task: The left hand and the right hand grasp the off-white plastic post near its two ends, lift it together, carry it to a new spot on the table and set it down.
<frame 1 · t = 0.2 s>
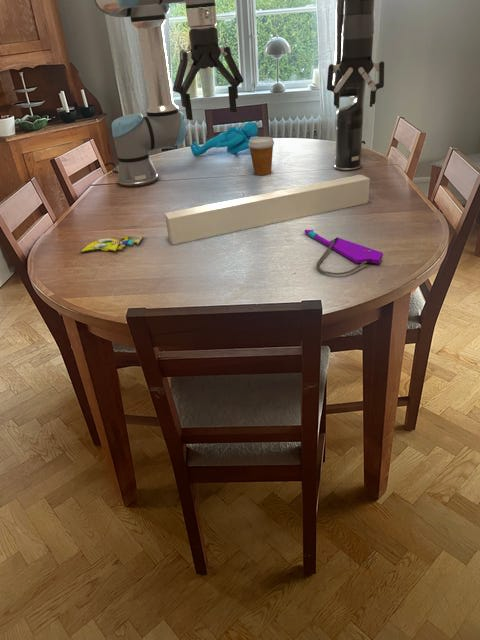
left hand: (211, 115, 135), 28 cm above the table, tool pointing down, fingers open, 13 cm apart
right hand: (354, 107, 126), 28 cm above the table, tool pointing down, fingers open, 8 cm apart
post: (272, 219, 140), on the table
toy: (225, 154, 209), on the table
disposable coffee cup: (262, 173, 180), on the table
toy 2: (113, 245, 134), on the table
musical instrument: (331, 256, 117), on the table
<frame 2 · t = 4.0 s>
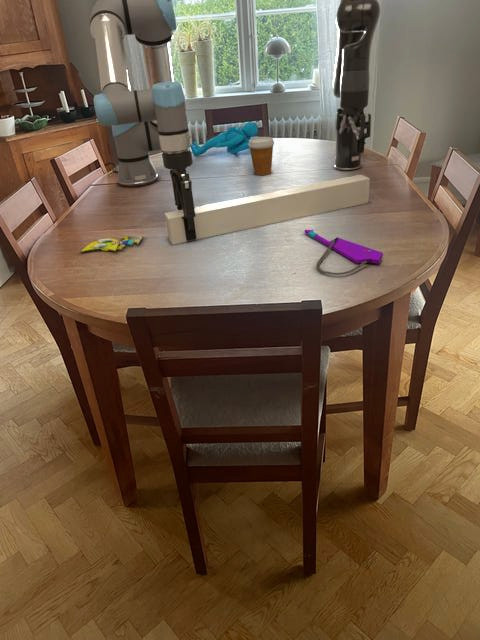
left hand: (188, 235, 134), 1 cm above the table, tool pointing down, fingers closed on post, 5 cm apart
right hand: (351, 149, 138), 16 cm above the table, tool pointing down, fingers open, 8 cm apart
post: (272, 219, 140), on the table, touching left hand
everything else where it was.
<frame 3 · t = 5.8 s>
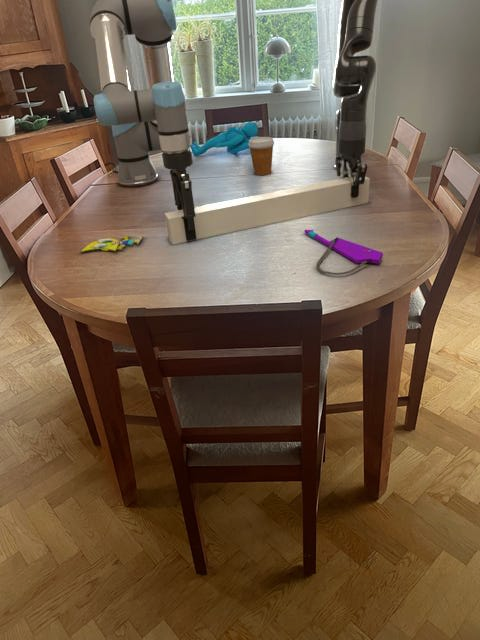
left hand: (188, 235, 134), 1 cm above the table, tool pointing down, fingers closed on post, 5 cm apart
right hand: (349, 194, 145), 3 cm above the table, tool pointing down, fingers closed on post, 5 cm apart
post: (272, 219, 140), on the table, touching left hand, right hand
everything else where it was.
when the left hand's fingers open (2 cm above the table, at t = 12.5 s): post drops 1 cm, on the table.
when the right hand's fingers open (4 cm above the table, at t = 12.7 s): post stays where it is, on the table.
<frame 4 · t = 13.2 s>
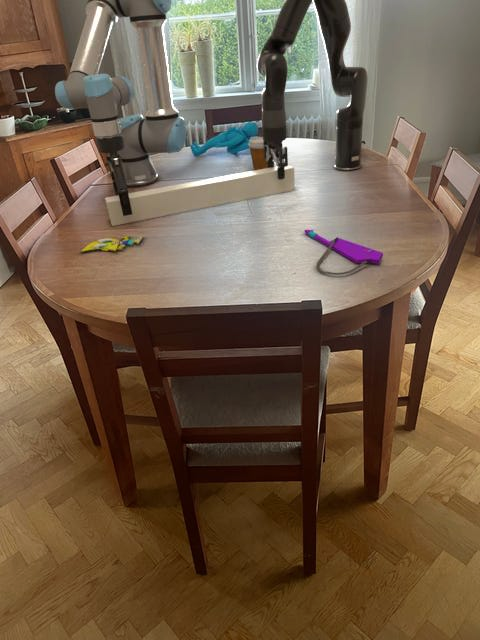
left hand: (124, 208, 147), 4 cm above the table, tool pointing down, fingers open, 13 cm apart
right hand: (276, 175, 159), 5 cm above the table, tool pointing down, fingers open, 8 cm apart
post: (205, 204, 156), on the table
everything else where it was.
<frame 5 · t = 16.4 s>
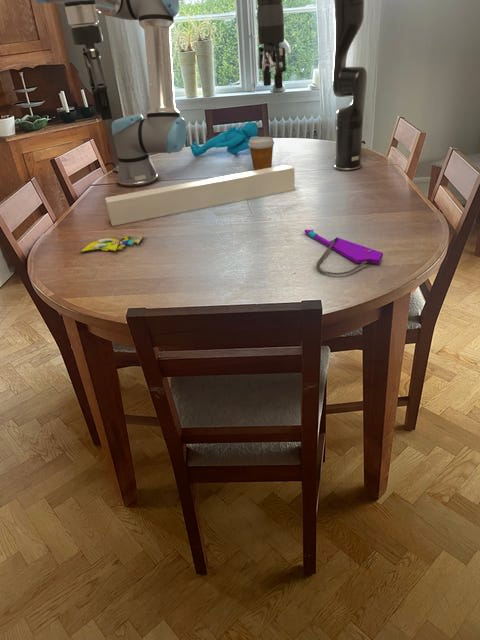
left hand: (104, 115, 133), 31 cm above the table, tool pointing down, fingers open, 13 cm apart
right hand: (272, 86, 144), 32 cm above the table, tool pointing down, fingers open, 8 cm apart
nothing on the table moved.
at the end: post inside the target area (0.4 cm from its centre), on the table; post tilted 0°; post never tilted more than 2° during the clip; both hands held the post at the same time; the left hand is holding nothing; the right hand is holding nothing; post at rest at the end (0.0 cm/s) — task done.
